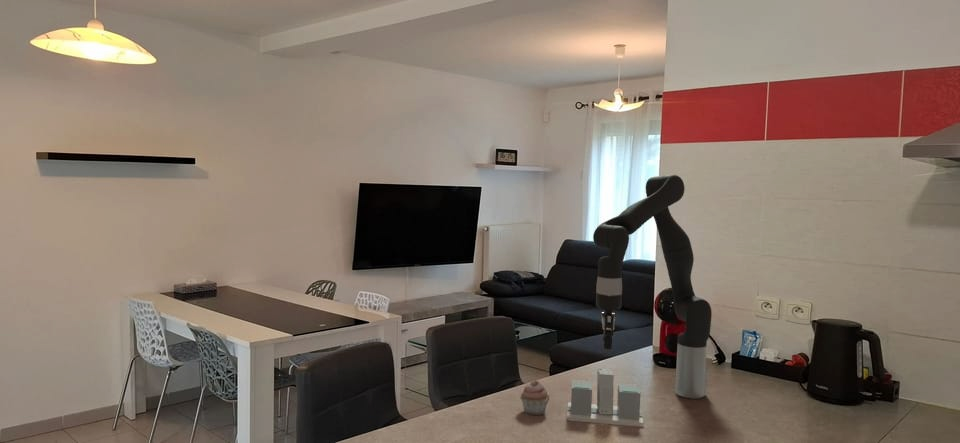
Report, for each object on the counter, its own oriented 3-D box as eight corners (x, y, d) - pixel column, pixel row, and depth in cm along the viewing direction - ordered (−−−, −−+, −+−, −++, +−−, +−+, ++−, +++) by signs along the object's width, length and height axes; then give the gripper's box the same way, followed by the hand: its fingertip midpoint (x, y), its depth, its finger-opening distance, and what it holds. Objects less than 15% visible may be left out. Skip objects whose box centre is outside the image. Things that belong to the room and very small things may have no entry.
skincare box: (613, 415, 186) (615, 375, 186) (598, 414, 187) (599, 374, 186) (610, 407, 193) (611, 368, 192) (595, 406, 193) (597, 368, 192)
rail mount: (639, 411, 194) (641, 382, 193) (643, 426, 182) (644, 395, 181) (568, 405, 197) (569, 376, 196) (567, 420, 185) (568, 389, 185)
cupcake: (515, 414, 189) (516, 382, 188) (524, 404, 198) (524, 373, 197) (545, 419, 186) (546, 386, 185) (552, 408, 194) (554, 377, 194)
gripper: (596, 287, 194) (594, 338, 195) (596, 295, 180) (595, 350, 181) (620, 288, 193) (618, 340, 194) (623, 296, 179) (621, 352, 180)
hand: (607, 345), depth 188 cm, fingers open, 8 cm apart
